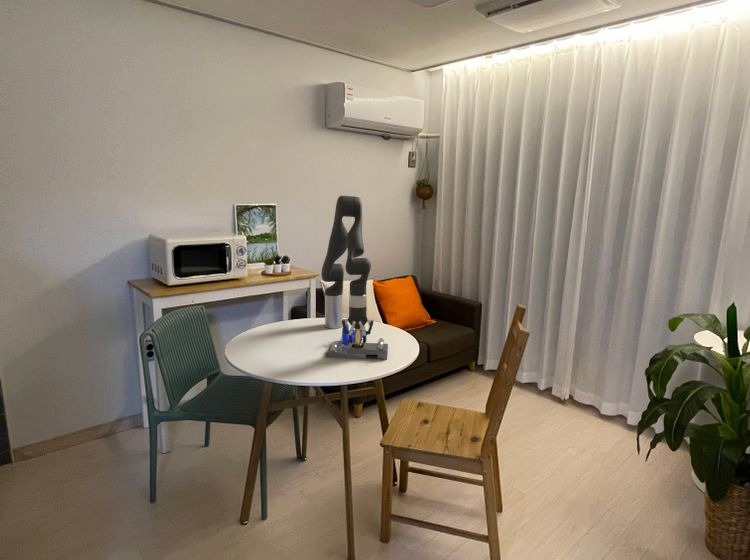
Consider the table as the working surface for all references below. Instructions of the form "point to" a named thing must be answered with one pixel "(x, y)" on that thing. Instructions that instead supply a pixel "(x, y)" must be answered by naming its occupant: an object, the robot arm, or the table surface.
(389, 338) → the table surface
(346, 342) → the bracket
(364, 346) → the grey plate with pins
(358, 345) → the pin
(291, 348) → the table surface
